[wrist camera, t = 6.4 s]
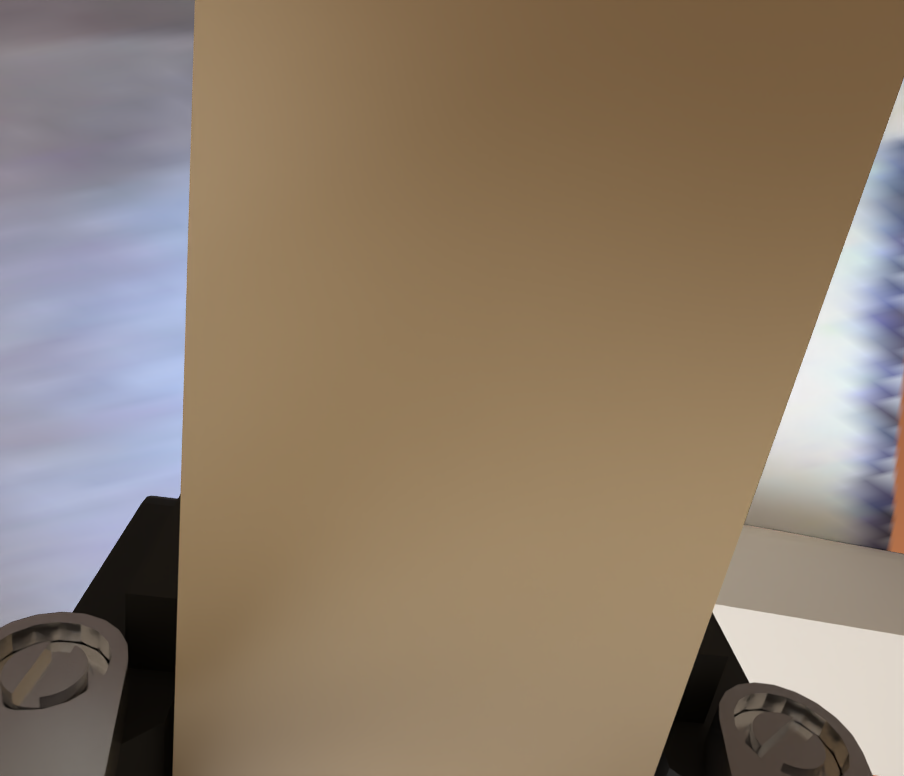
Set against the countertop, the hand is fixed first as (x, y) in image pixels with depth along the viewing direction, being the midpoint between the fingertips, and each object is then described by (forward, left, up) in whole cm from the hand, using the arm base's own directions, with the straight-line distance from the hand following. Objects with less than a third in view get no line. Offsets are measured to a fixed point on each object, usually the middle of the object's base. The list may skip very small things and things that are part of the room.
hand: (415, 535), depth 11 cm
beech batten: (0, 0, -1) cm, 1 cm away
